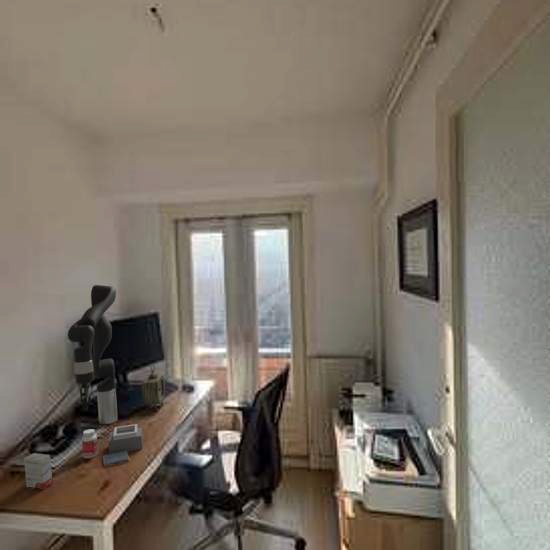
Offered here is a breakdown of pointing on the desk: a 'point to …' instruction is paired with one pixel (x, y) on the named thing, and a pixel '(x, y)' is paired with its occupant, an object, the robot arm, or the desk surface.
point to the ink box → (38, 470)
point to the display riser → (125, 439)
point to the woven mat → (115, 458)
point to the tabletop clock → (153, 389)
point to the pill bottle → (89, 444)
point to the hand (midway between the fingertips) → (87, 407)
